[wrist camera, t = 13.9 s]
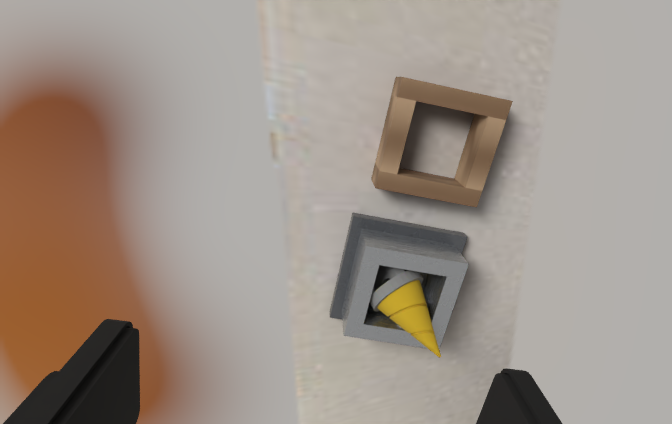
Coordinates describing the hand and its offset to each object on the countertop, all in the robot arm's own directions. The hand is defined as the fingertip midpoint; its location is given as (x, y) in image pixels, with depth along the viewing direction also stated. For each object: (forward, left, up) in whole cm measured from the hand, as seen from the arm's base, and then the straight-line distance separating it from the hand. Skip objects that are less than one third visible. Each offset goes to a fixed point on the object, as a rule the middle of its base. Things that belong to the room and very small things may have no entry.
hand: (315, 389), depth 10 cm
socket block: (-4, +9, -27) cm, 28 cm away
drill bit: (+10, +10, -26) cm, 29 cm away
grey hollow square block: (+9, +9, -27) cm, 30 cm away
